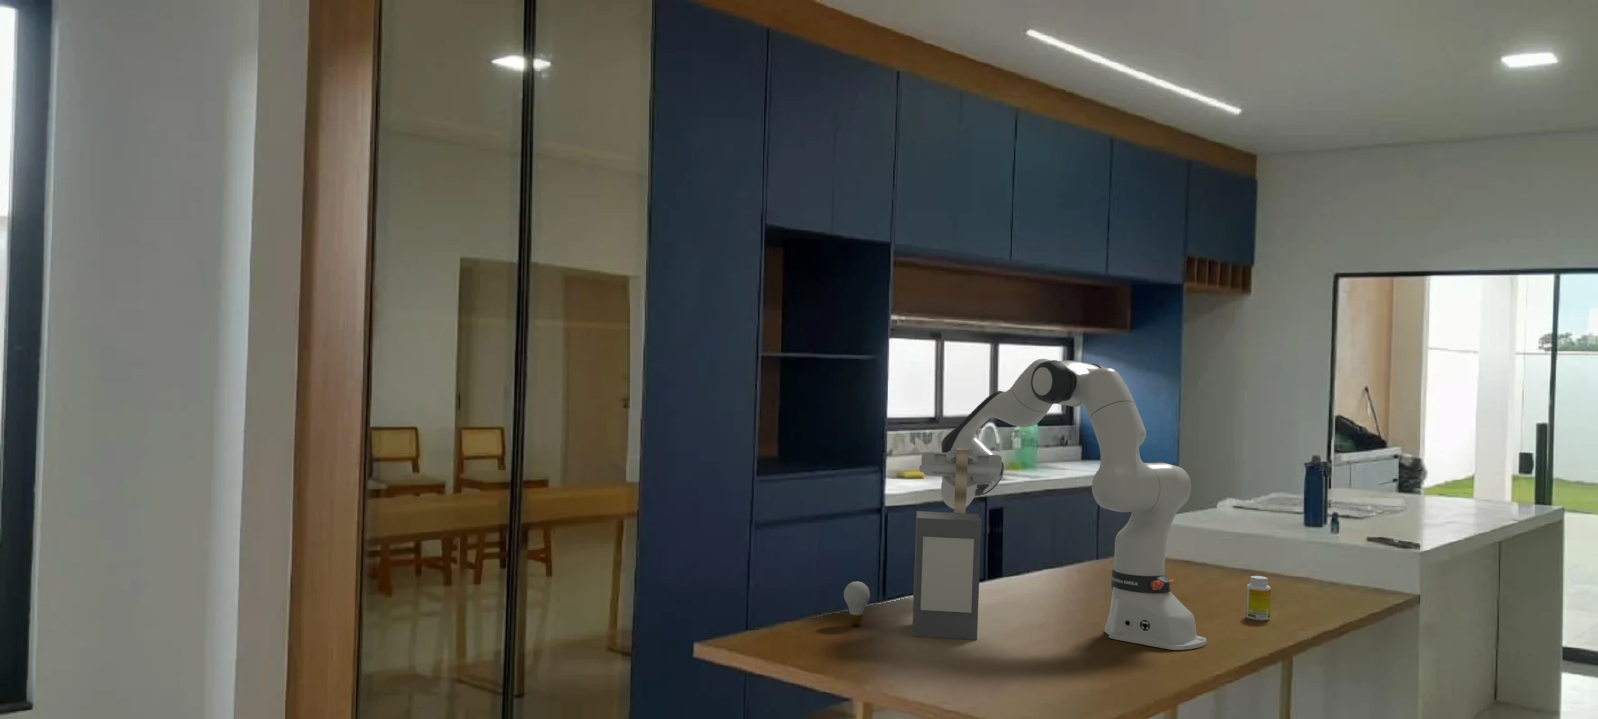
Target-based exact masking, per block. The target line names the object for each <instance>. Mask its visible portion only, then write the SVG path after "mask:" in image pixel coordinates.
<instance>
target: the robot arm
mask: <svg viewBox="0 0 1598 719" xmlns="http://www.w3.org/2000/svg"><path fill="white" fill-rule="evenodd" d="M1053 405H1061V406H1068V407H1076V408H1079V407H1085V409H1086V413H1087V415H1088V418H1089V420H1090V424H1091V426H1092V429H1093V432H1094V435H1095V437H1096V441H1097V444H1098V446H1099V447H1098V448H1099V453H1100V463H1099V467H1098V469H1097V471H1096V473H1095V474H1094V475H1093V478H1092V482H1091V492H1092V496H1093V498H1094V500H1095V502H1096V503H1097V505H1098V506H1100V507H1101V508H1102V509H1105V510H1110V511H1113V512H1119V513H1131V515H1130V517H1129V519H1128V520H1127V521H1128V522H1127V523H1126V524H1125V526H1123V527H1122V529H1120V530H1119V531H1118V533H1117V534H1116V535H1115V539H1114V556H1113V558H1114V561H1113V569H1112V570H1111V582H1110V584H1111V592H1112V594H1111V600H1110V601H1111V602H1110V607H1109V612H1108V617H1107V620H1106V624H1105V626H1104V630H1103V632H1104V633H1105V634H1107V635H1108V638H1110V639H1112V640H1117V641H1122V642H1127V643H1132V644H1139V645H1144V646H1149V647H1154V648H1160V649H1167V650H1172V651H1180V650H1181V651H1185V650H1192V649H1196V648H1197V649H1198V648H1201V647H1204V646H1206V645H1207V643H1208V642H1207V637H1204V636H1200V635H1197V625H1196V619H1195V616H1194V614H1193V613H1192V611H1190V610H1189V609H1188V608H1187V607H1186V606H1185V605H1184V604H1183V603H1182V602H1181V601H1180V600H1179V599H1178V598H1177V597H1176V596H1175V595H1174V594H1173V593H1172V592H1171V586H1173V585H1175V583H1173V582H1175V581H1176V580H1175V579H1169V578H1168V577H1167V575H1166V573H1165V565H1166V564H1165V561H1166V558H1165V557H1166V551H1167V550H1166V548H1167V540H1168V535H1169V532H1170V529H1171V526H1172V524H1173V522H1174V519H1175V516H1176V515H1177V513H1178V512H1179V511H1180V509H1181V508H1182V507H1183V506H1184V505H1185V504H1186V503H1187V502H1188V501H1189V499H1190V497H1191V493H1192V482H1191V479H1190V476H1189V474H1188V473H1187V471H1186V470H1185V469H1184V468H1182V467H1181V466H1177V465H1173V464H1170V463H1165V462H1143V460H1142V459H1141V455H1140V447H1141V446H1142V444H1144V442H1145V440H1146V437H1147V430H1146V427H1145V425H1144V422H1143V420H1142V417H1141V414H1140V413H1139V408H1138V406H1137V405H1136V402H1135V400H1134V398H1133V395H1132V394H1131V391H1130V388H1129V387H1128V386H1127V384H1126V382H1125V381H1124V379H1123V377H1122V376H1121V375H1120V373H1119V372H1118V371H1117V370H1115V369H1113V368H1110V367H1104V366H1102V365H1099V364H1096V363H1089V362H1088V363H1086V362H1081V361H1077V360H1057V359H1052V360H1051V359H1049V358H1048V359H1047V358H1039V359H1036V360H1034V361H1033V362H1032V363H1031V364H1030V365H1028V366H1027V367H1026V368H1025V369H1024V371H1023V372H1021V374H1020V375H1019V376H1018V377H1017V379H1016V380H1015V381H1014V383H1013V384H1012V386H1011V387H1010V388H1009V389H1008V390H1006V391H1004V390H1003V391H1002V390H997V391H995V392H993V393H991V394H990V395H988V396H987V397H986V398H985V399H984V400H983V401H982V402H980V404H978V406H976V408H975V407H974V409H973V410H972V411H971V412H970V413H969V414H968V416H966V417H965V419H963V420H962V421H961V422H960V423H959V424H958V425H957V426H956V427H955V428H953V429H952V430H951V431H949V432H948V433H947V434H946V435H945V437H944V438H943V439H942V441H941V452H940V451H939V452H938V451H937V452H936V451H935V452H934V451H924V452H922V454H921V460H920V461H921V464H920V466H919V472H920V473H923V474H924V475H926V476H931V477H941V486H940V494H941V498H942V500H943V502H944V504H945V505H947V507H949V508H950V509H953V510H954V497H955V473H956V457H957V448H968V468H967V492H966V508H967V507H968V506H970V505H971V503H972V501H973V500H974V498H975V497H979V496H984V495H986V494H989V493H990V492H991V491H992V490H994V489H995V488H996V487H997V485H998V484H999V483H1000V482H1001V479H1002V478H1003V475H1004V470H1005V464H1004V462H1003V461H1002V456H1000V455H999V454H995V453H994V452H993V451H992V450H991V449H990V448H989V447H988V446H986V444H984V442H982V440H980V438H979V437H978V435H977V432H978V431H979V429H980V428H981V427H982V426H983V425H984V424H985V423H986V422H987V421H988V420H990V419H991V418H994V419H997V420H1000V421H1002V422H1004V423H1007V424H1009V425H1011V426H1015V427H1019V428H1027V427H1033V426H1035V425H1037V424H1039V422H1040V421H1042V420H1043V418H1044V417H1045V416H1046V415H1047V414H1048V412H1049V411H1050V409H1051V407H1052V406H1053Z"/></svg>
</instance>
